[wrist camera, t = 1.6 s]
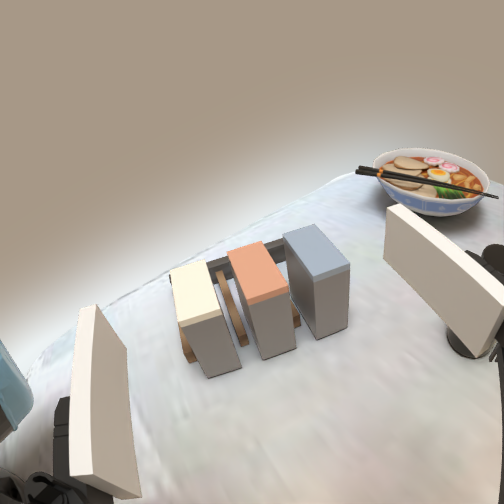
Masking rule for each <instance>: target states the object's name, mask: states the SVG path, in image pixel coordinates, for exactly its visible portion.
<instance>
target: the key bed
mask: <svg viewBox="0 0 504 504" xmlns="http://www.w3.org/2000/svg"><path fill="white" fill-rule="evenodd" d="M264 246H265V248H266V249H267V251H268V253H269V254H270V256H271V258H272V259H273V261H274V262H275V264H277V263H280V262H282V261H285V260H286V256H285V249H284V242H283V238H281V239H278V240H275V241H272V242H269V243H266V244H264ZM206 265H207V268H208V271H209V274H210V277H211V280H212V283H213V284H216V283H219V285H220V288H221V291H222V294H223V296H224V299H225V302H226V305H227V308H228V311H229V314H230V317H231V319H232V322H233V325H234V328H235V331H236V333H237V336H238V339H239V342H240V345H241V347H242V346H245V345H248V344H249V341H248V338H247V335H246V332H245V329H244V327H243V324H242V321H241V319H240V316H239V314H238V311H237V308H236V306H235V303H234V301H233V298H232V295H231V293H230V290H229V287H228V285H227V282H226V280H228V279H231V278H234V277H233V273H232V270H231V266H230V262H229V259H228V256H225V257H222V258H219V259H216V260H213V261H210V262H207V263H206ZM169 279H170V283H171V285H172V282H171V275H169ZM172 289H173V288H172ZM290 301H291V299H290ZM174 302H175V301H174ZM175 308H176V307H175ZM291 309H292V317H293V324H294V328H295V327H298V326H301V324H300V315H299V313H298V311H297V309H296V308H295V306H294V304H293V303H292V301H291ZM176 314H177V313H176ZM177 320H178V319H177ZM178 326H179V331H180V337H181V342H182V348H183V353H184V355H185V357H186V359H187V360H188V362H189V363H192V362H195V361H197V358H196V356H195V354H194V352H193V350H192V348H191V347H190V345H189V343H188V341H187V339H186V337H185V335H184V333H183V331H182V329H181V327H180V325H179V323H178Z"/></svg>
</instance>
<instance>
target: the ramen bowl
mask: <svg viewBox="0 0 504 504" xmlns="http://www.w3.org/2000/svg"><path fill="white" fill-rule="evenodd" d="M355 174H359V175H367V176H375V177H377V179H378V180H379V182H380V183H381V185H382V186H383V188H384V189H385V190H386V192H387V193H388V195H389V196H390V197H391V198H392V199H393V200H395V201H396V202H398V203H401V204H402V205H403V206H405V207H406V208H408V209H409V210H412V211H415V212H418V213H421V214H424V215H431V216H440V217H442V216H451V215H457V214H461V213H462V212H464V211H466V210H468V209H470V208H471V207H473V206H474V205H476V204H477V203H478V202H479V201H480V200H481V199H482V198H483V197H484V196H487V197H491V198H496V197H498V196H495V195H491V194H487V191H488V188H489V186H490V183H491V182H490V180H489V179H488V177H487V175H486V173H485V172H484V171H483V170H482V169H480V168H479V167H478V166H476V165H475V164H474V163H473V162H471V161H468V160H466V159H464V158H462V157H460V156H457V155H454V154H450V153H447V152H443V151H439V150H432V149H423V148H407V149H397V150H393V151H389V152H386V153H383V154H382V155H380V156H379V157H377V158H376V159H374V161H373V167H372V168H371V167H365V166H359V170H358V169H357V170H356V171H355ZM485 194H486V195H485ZM489 195H490V196H489ZM492 196H494V197H492ZM496 199H499V198H496Z"/></svg>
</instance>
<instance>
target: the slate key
mask: <svg viewBox="0 0 504 504" xmlns="http://www.w3.org/2000/svg"><path fill="white" fill-rule="evenodd" d="M282 235H283V242H284V249H285V256H286V263H287V270H288V278H289V285H290V293H291V297H292V299H293V301H294V302H295V304H296V306H297V307H298V309H299V311H300V312H301V314H302V316H303V318H304V319H305V321H306V323H307V324H308V326H309V328H310V329H311V331H312V333H313V335H314V336H315V338H316V340H318V339H320V338H323V337H325V336H328V335H330V334H332V333H335V332H337V331H340V330H342V329H344V328H347V324H348V307H349V284H350V262H349V261H348V260H347V259H346V258H345V257H344V255H343V254H342V253H341V252H340V251H339V250H338V249H337V248H336V247H335V246H334V244H333V243H332V242H331V241H330V240H329V239H328V238H327V237H326V236H325V235H324V234H323V232H322V231H321V230H320V229H319V228H318V227H317V226H316V225H315V224H313V225H309V226H306V227H303V228H300V229H297V230H294V231H291V232H287V233H284V234H282Z"/></svg>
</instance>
